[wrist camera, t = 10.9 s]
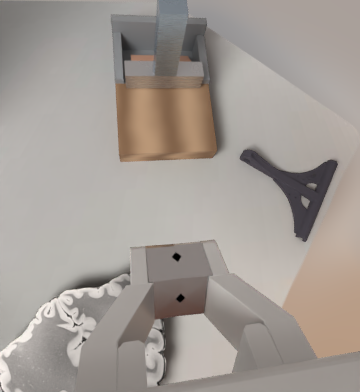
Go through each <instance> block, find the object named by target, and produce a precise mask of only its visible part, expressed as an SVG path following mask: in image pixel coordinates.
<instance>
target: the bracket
mask: <svg viewBox="0 0 360 392" xmlns="http://www.w3.org/2000/svg"><path fill="white" fill-rule="evenodd" d="M247 159H248V160H247ZM240 160H242V161H244V162H246V163H247V164H249V165H251V166H252V167H254V168H256V169H258V170H259V171H261V172H263V173H264V174H266V175H268V176H270V177H271V178H273V180H274V181H275V182H276V183H277V184H278V186H279V187H280V188H281V189H282V190H283V192H284V193H285V195H286V196H287V198H288V200H289V203H290V205H291V208H292V212H293V217H294V232H295V233H296V237H301V238H303V240H302V241H304V242H306V241H307V238H308V236H309V234H310V231H311V229H312V226H313V224H314V221H315V219H316V216H317V214H318V212H319V209H320V207H321V204H322V202H323V199H324V197H325V194H326V192H327V190H328V187H329V185H330V182H331V180H332V177H333V175H334V172H335V170H336V168H337V165H338V163H337V162H336V161H333V160H328V161H327V162H324V163H323V164H322V165H320V166H319V167H318V168H316V169H314V170H312V171H309V172H305V173H300V174H299V173H288V172H284V171H281V170H278V169H276V168H275V167H273V166H272V165H271V164H269V163H268V162H267V161H265V160H264V159H263V158H262V157H260V156H259V155H258V154H257V153H256V152H254V151H252V150H244V151H243V153H242V154H241V156H240ZM308 183H315V184H317V187H316V189H315V191H314V190H312V189H310V188H308V187H306V185H307V184H308ZM301 195H302V196H304V197H305V198H307V199H308V200H309V201H310V203H309V206H308V208H307V209H306V208H305V207H304V206H303V205H302V202H301Z"/></svg>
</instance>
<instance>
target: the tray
mask: <svg viewBox="0 0 360 392" xmlns="http://www.w3.org/2000/svg"><path fill="white" fill-rule="evenodd" d="M111 24H112V33H113V53H114V72H115V84H126V80H125V64H124V61H131V55H154V45H155V30H156V16H136V15H111ZM206 26H207V21H206V18H188V19H187V24H186V29H185V34H184V39H183V44H182V49H181V55H180V56H188V57H189V59H190V60H191V62H202V65H203V73H204V78H203V81H202V84H208V83H209V81H210V76H209V69H208V61H207V54H206V46H205V39H204V33H205V30H206Z"/></svg>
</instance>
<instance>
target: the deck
mask: <svg viewBox="0 0 360 392" xmlns="http://www.w3.org/2000/svg"><path fill="white" fill-rule="evenodd" d="M116 103H117V122H118V141H119V156H120V161H121V162H129V161H153V160H177V159H200V158H212V157H213V156H214V155H215V153H216V152H217V145H216V137H215V130H214V122H213V115H212V107H211V100H210V92H209V85H208V84H201V86H200V88H126V84H116Z"/></svg>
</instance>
